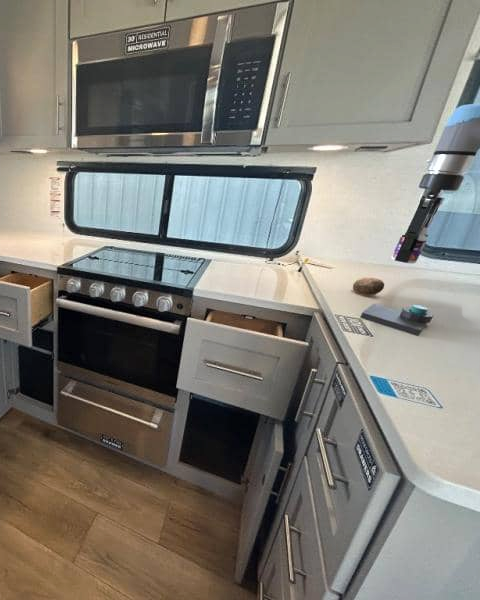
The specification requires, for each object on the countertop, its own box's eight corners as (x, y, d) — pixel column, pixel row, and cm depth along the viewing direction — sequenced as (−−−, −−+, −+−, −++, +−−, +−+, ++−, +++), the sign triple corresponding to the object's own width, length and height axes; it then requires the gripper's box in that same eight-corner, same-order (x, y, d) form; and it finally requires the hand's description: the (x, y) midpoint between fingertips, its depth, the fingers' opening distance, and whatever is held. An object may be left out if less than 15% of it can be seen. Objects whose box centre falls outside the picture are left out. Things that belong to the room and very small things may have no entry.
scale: (428, 325, 90) (434, 313, 88) (420, 337, 83) (426, 324, 81) (371, 308, 99) (376, 297, 97) (359, 318, 91) (364, 306, 90)
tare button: (425, 314, 89) (428, 308, 88) (423, 316, 87) (427, 310, 86) (411, 309, 91) (414, 304, 90) (408, 312, 89) (411, 306, 88)
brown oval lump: (384, 284, 110) (380, 270, 108) (388, 300, 105) (385, 285, 103) (353, 289, 116) (350, 276, 113) (356, 304, 111) (352, 290, 108)
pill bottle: (389, 259, 94) (404, 225, 90) (392, 257, 98) (407, 224, 94) (414, 264, 91) (431, 229, 87) (416, 262, 94) (433, 228, 90)
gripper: (431, 173, 93) (394, 253, 102) (417, 171, 82) (377, 260, 91) (470, 175, 87) (427, 259, 97) (460, 173, 77) (413, 268, 86)
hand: (403, 260), depth 94 cm, fingers closed on pill bottle, 5 cm apart
